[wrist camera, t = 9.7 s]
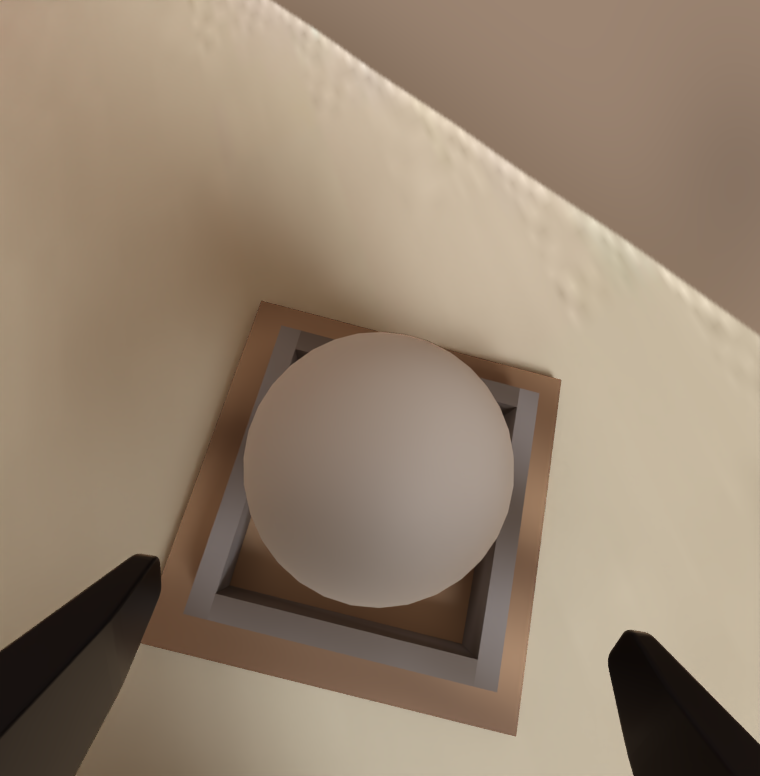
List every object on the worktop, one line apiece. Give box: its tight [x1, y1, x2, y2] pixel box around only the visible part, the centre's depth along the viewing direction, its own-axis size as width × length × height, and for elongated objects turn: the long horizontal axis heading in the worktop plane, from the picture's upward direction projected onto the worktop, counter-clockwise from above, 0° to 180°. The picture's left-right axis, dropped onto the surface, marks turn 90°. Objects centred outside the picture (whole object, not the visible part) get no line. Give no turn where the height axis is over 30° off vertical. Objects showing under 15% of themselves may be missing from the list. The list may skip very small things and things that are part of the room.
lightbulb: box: [244, 332, 514, 608], centre depth 13 cm, size 6×6×11 cm
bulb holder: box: [141, 301, 561, 736], centre depth 17 cm, size 14×14×2 cm
